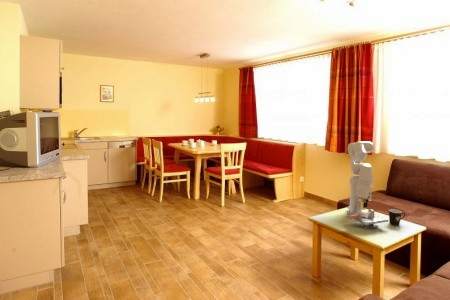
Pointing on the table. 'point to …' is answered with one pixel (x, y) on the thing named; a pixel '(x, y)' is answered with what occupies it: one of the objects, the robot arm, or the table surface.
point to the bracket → (355, 216)
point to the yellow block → (361, 203)
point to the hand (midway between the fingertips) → (363, 206)
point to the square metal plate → (370, 219)
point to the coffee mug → (395, 217)
